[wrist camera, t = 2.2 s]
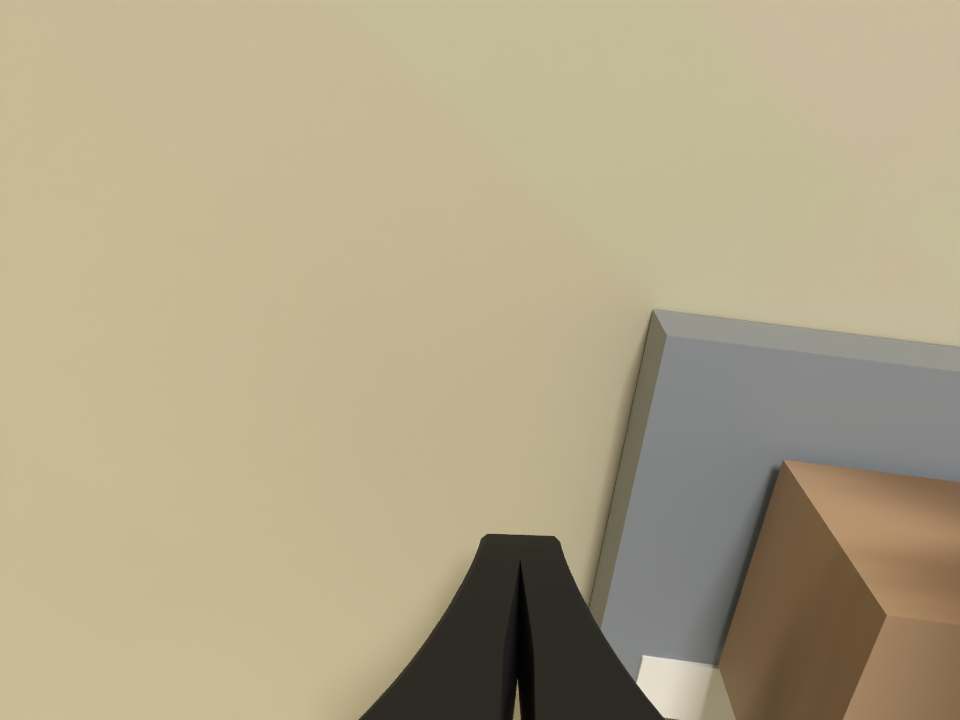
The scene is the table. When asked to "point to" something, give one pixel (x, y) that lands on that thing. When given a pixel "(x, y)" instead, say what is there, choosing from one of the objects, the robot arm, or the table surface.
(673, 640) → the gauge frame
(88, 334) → the table surface
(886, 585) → the block
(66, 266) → the table surface
